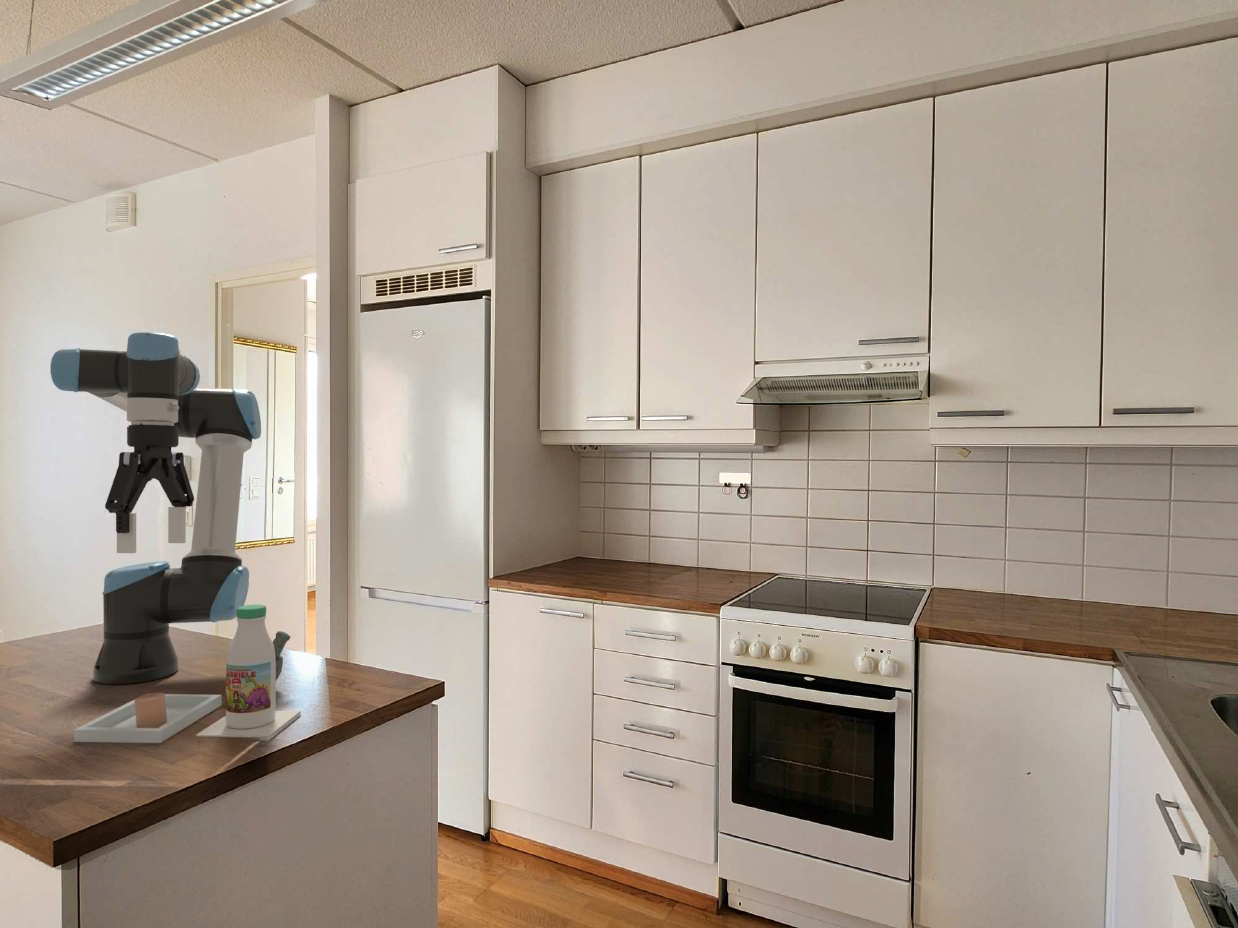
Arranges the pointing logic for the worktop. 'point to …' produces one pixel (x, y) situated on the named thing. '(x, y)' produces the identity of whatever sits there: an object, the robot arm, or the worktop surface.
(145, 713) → the pinkish brown rounded cylinder
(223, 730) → the pad
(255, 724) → the milk bottle
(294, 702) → the worktop surface
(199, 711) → the tray
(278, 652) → the mortar and pestle
